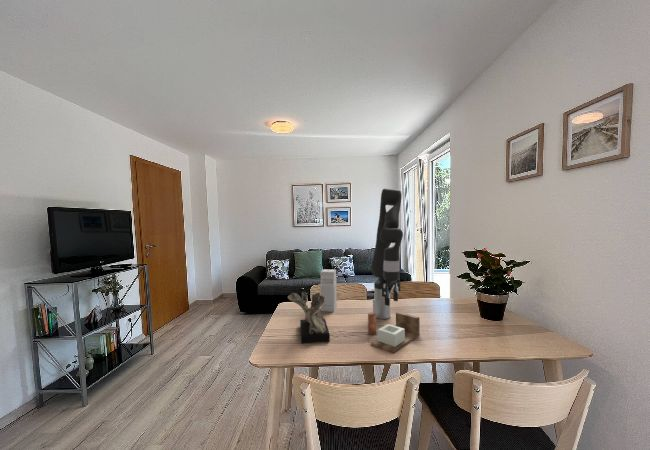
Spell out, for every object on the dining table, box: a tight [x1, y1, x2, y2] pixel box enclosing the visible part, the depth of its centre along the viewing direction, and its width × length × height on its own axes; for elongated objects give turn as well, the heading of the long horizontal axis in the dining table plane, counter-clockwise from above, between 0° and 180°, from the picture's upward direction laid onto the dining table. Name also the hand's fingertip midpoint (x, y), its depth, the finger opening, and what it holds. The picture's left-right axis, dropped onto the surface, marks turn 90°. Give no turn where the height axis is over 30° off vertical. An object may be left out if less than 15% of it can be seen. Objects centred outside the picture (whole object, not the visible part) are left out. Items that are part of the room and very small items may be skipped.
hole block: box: [377, 323, 405, 347], centre depth 133 cm, size 9×9×6 cm
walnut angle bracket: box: [370, 311, 421, 354], centre depth 136 cm, size 12×25×9 cm, turn 136°
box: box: [319, 268, 338, 313], centre depth 182 cm, size 8×8×25 cm
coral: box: [287, 291, 331, 344], centre depth 143 cm, size 25×20×22 cm
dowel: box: [367, 311, 377, 336], centre depth 144 cm, size 4×4×10 cm
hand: (391, 303), depth 136 cm, fingers open, 8 cm apart
